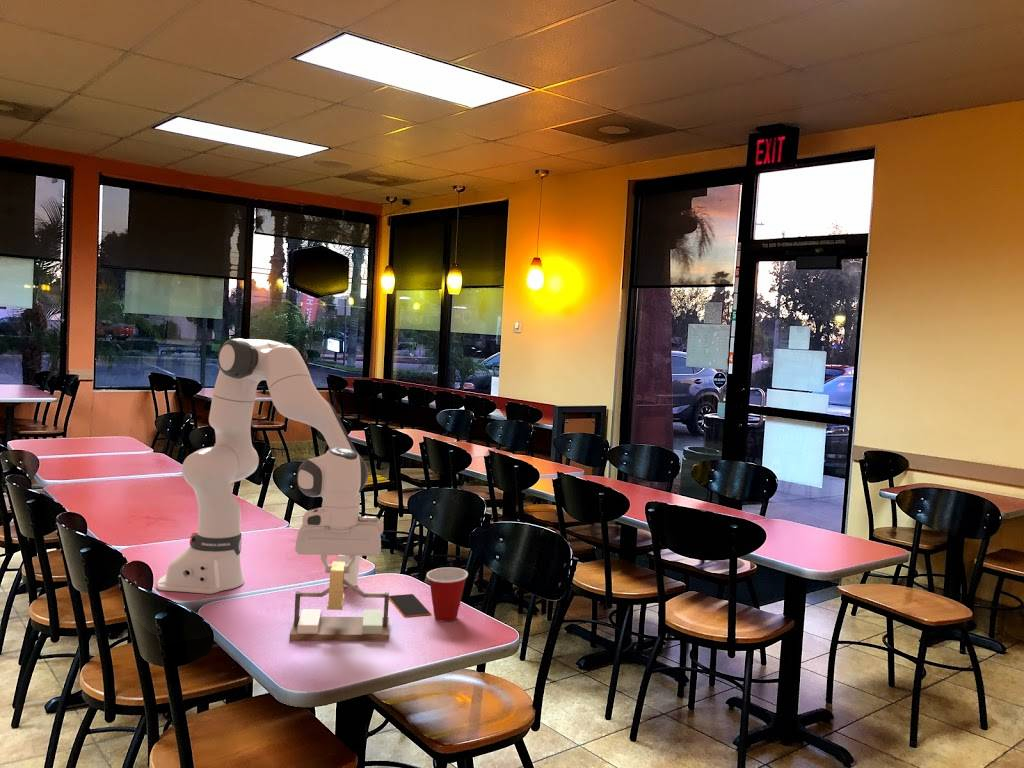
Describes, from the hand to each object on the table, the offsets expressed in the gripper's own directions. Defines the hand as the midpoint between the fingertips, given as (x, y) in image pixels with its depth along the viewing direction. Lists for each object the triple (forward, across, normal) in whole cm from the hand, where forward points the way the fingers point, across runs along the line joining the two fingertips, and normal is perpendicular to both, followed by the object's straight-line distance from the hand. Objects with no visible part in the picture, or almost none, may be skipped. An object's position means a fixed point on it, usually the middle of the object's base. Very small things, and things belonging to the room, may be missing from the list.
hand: (337, 572), depth 197 cm
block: (+13, +6, 0) cm, 14 cm away
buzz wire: (+15, -2, 0) cm, 15 cm away
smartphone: (+15, -18, -19) cm, 31 cm away
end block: (+13, -9, 0) cm, 16 cm away
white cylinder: (+15, -1, -36) cm, 39 cm away
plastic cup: (+15, -28, -10) cm, 33 cm away
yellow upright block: (+8, 0, 0) cm, 8 cm away
